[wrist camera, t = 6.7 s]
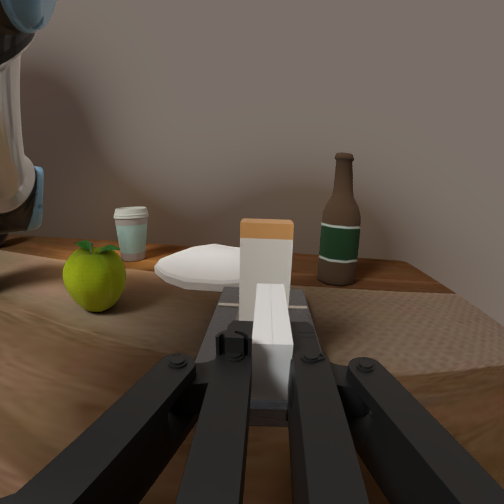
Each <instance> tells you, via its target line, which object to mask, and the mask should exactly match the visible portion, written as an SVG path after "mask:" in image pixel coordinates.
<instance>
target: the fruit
mask: <svg viewBox="0 0 504 504" xmlns="http://www.w3.org/2000/svg"><path fill="white" fill-rule="evenodd" d="M74 244H75V243H74ZM76 244H77V245H78V246H80V247H81V249H77V250H76V251H74V252H73V253H72V255H71V256H70V257H69V258H68V260H67V261H66V263H65V265H64V268H63V281H64V284H65V287H66V289H67V291H68V293H69V294H70V296H71V297H72V298H73V299H74V301H75V302H76V303H78V304H79V305H80V306H81V307H82V308H84V309H86V310H88V311H92V312H101V311H104V310H106V309H108V308H110V307H112V306H113V305H114V304H115V303H116V302H117V301H118V300H119V298H120V296H121V295H122V292H123V290H124V287H125V281H126V272H125V267H124V264H123V262H122V260H121V258H120V257H119V255H118V254H117V253H116V252H115V251H113V250H120V249H119V248H118V247H116V246H114V245H107V246H105V247H100V248H97V247H92V246H93V244H92V242H89V241H87V240H84V241H80V242H76ZM83 248H84V249H83Z"/></svg>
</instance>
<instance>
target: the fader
mask: <svg viewBox="0 0 504 504" xmlns="http://www.w3.org/2000/svg"><path fill="white" fill-rule="evenodd" d="M293 230H294V224H293V222H292V221H291V220H275V219H246V218H243V219H242V221H241V228H240V282H239V321H254V312H255V301H256V290H257V283H262V284H284V289H285V295H286V301H287V307H288V306H289V293H290V279H291V264H292V248H293Z"/></svg>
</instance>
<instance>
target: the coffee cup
mask: <svg viewBox="0 0 504 504" xmlns="http://www.w3.org/2000/svg"><path fill="white" fill-rule="evenodd" d="M148 216H149V215H148V212H147V208H146V207H124V208H117V209H116V210H115V214H114V218H115V222H116V229H117V235H118V241H119V247H120V252H121V258H122V260H123V261H139V260H143V259H144V258H145V249H146V233H147V219H148Z"/></svg>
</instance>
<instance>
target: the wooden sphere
mask: <svg viewBox="0 0 504 504" xmlns="http://www.w3.org/2000/svg"><path fill="white" fill-rule="evenodd" d="M8 235H9V233H6V234H0V245H2V244H3V243H4V242H5V240H6V239H7V237H8Z"/></svg>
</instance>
